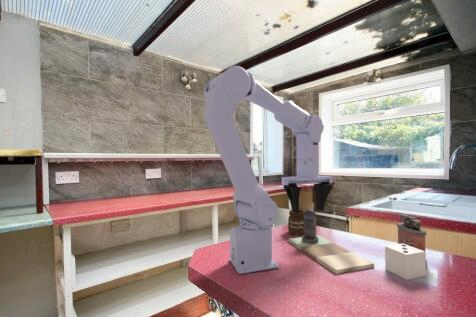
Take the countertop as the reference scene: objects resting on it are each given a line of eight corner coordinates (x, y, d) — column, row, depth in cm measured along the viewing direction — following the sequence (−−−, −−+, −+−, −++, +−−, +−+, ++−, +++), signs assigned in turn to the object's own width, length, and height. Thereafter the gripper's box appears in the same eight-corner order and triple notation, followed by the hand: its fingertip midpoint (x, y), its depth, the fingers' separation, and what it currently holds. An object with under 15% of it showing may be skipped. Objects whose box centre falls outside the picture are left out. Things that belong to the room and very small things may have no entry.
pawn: (299, 239, 72) (298, 208, 72) (312, 237, 73) (312, 207, 73) (307, 244, 68) (306, 211, 68) (321, 242, 69) (321, 210, 69)
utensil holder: (288, 229, 84) (287, 194, 84) (307, 230, 83) (306, 194, 83) (288, 235, 78) (287, 197, 78) (308, 236, 77) (308, 197, 77)
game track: (335, 273, 52) (335, 270, 52) (288, 241, 72) (288, 238, 72) (374, 267, 55) (374, 263, 55) (318, 237, 75) (317, 235, 75)
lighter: (431, 265, 55) (430, 220, 55) (415, 265, 55) (415, 221, 55) (407, 251, 63) (406, 212, 63) (393, 251, 63) (393, 212, 63)
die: (406, 279, 49) (406, 254, 49) (385, 269, 54) (385, 245, 54) (425, 275, 51) (425, 251, 51) (403, 265, 55) (402, 243, 55)
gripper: (290, 160, 61) (291, 216, 61) (340, 159, 65) (340, 212, 65) (277, 160, 67) (278, 210, 67) (323, 159, 72) (324, 207, 72)
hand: (308, 211), depth 67 cm, fingers open, 7 cm apart
